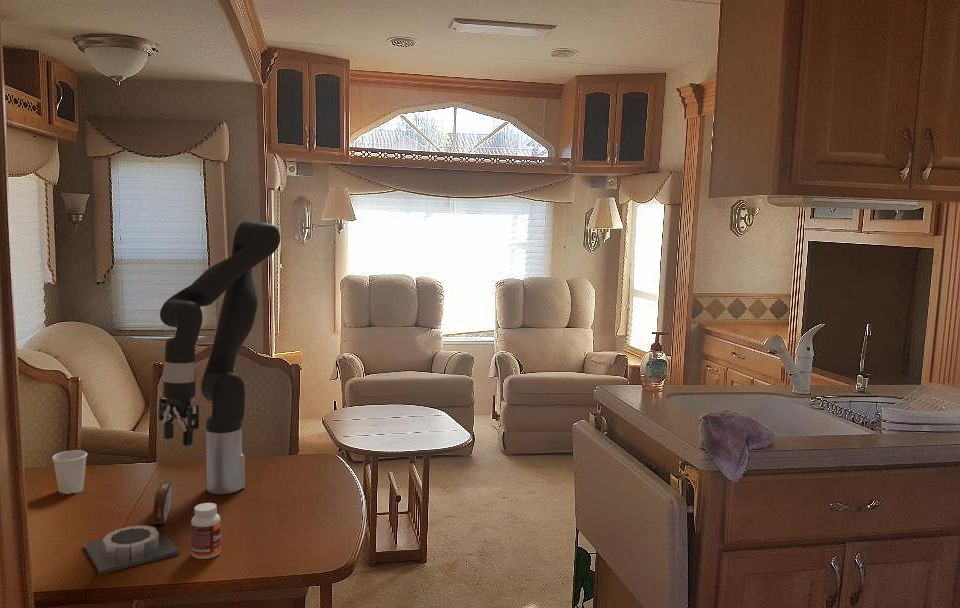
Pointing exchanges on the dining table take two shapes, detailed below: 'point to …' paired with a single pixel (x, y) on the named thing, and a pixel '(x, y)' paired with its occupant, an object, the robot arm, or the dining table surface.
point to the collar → (130, 548)
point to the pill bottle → (205, 531)
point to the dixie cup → (70, 470)
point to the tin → (162, 502)
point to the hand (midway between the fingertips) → (177, 441)
